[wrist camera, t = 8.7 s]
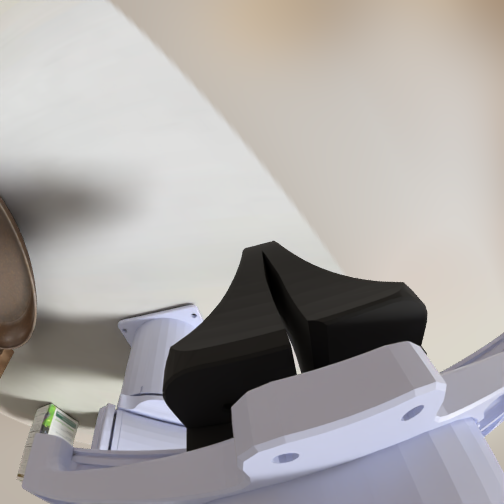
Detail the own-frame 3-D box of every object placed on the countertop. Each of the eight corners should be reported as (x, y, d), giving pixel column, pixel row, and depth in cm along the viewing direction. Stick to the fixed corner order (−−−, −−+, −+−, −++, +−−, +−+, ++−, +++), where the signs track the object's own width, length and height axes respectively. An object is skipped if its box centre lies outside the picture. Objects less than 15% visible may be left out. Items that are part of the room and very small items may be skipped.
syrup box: (80, 422, 33) (64, 500, 20) (62, 426, 34) (47, 497, 21) (51, 402, 30) (28, 482, 17) (36, 407, 31) (15, 480, 18)
